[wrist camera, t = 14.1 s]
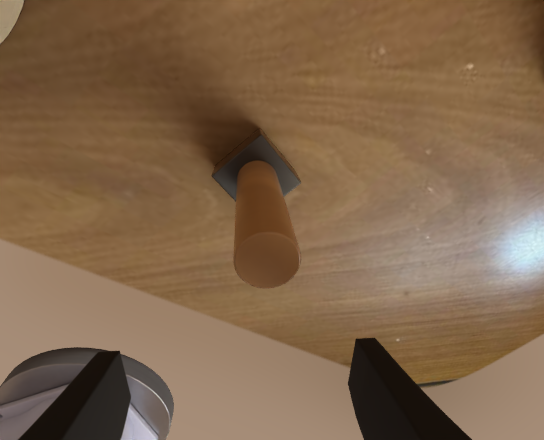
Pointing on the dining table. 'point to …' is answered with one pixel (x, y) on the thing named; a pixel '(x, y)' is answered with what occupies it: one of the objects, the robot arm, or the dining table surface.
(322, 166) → the dining table surface
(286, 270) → the wooden handle stamp
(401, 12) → the dining table surface
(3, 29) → the cream ceramic ramekin
